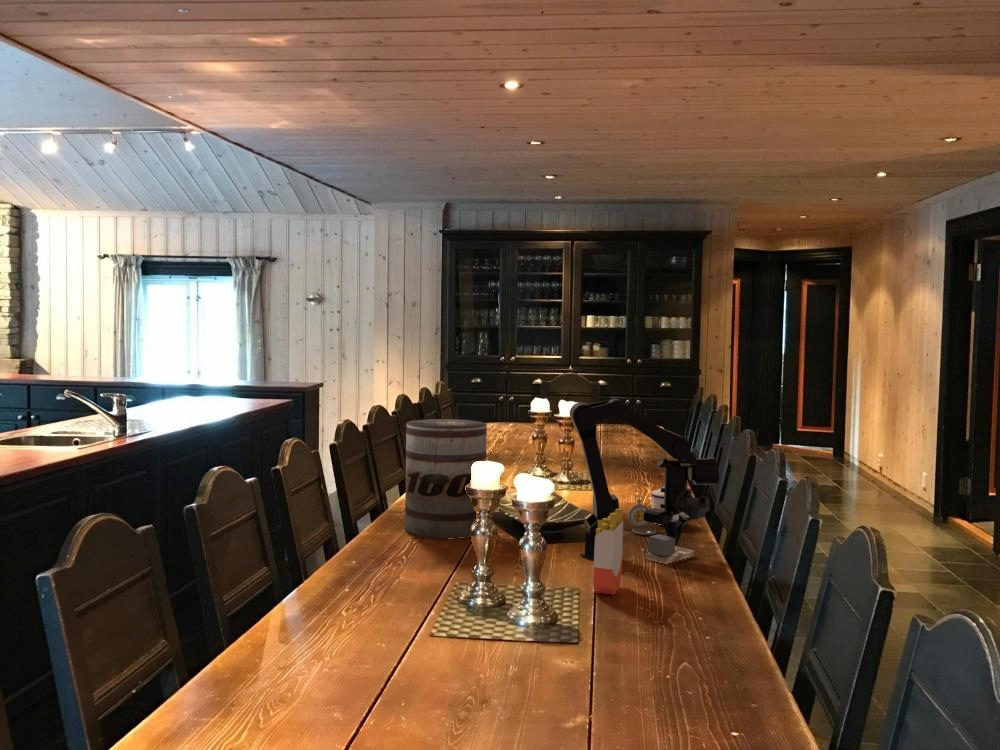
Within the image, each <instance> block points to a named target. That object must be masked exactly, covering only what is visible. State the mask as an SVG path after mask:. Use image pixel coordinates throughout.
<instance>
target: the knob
mask: <svg viewBox="0 0 1000 750" xmlns="http://www.w3.org/2000/svg"><path fill="white" fill-rule="evenodd" d="M648 536H649V537H648V553H653V554H657V555H661V556H669V555H672V554H675V538H673V537H669V536H668V535H664V534H660V533H659V534H653V535H648Z"/></svg>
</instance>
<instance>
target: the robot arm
mask: <svg viewBox="0 0 1000 750" xmlns="http://www.w3.org/2000/svg"><path fill="white" fill-rule="evenodd" d="M569 417H570V420H571V422H572V424H573V427H574V429H575V431H576V433H577V435H578V437H579V440H580V443H581V447H582V450H583V451H582V452H583V455H584V459H585V464H586V469H587V472H588V476H589V481H590V485H591V489H592V490H591V491H592V511H593V513H592V514H591V515H589V516H588V517H587V518H586V519H585V520H584V524H585V527H586V530H588V531H586V532H585V534H584V552H582V553H580V554H579V556H580V557H583V558H586V559H590V560H593V561H594V550H595V536H596V529H597V528H598V520H602V519H603V518H608V516H610V513H613V512H615V509H620V502H619V498H618V497H617V496H616V494H614V493H613V494H611V493H610V490H609V486H608V483H607V478H606V474H605V470H604V465H603V462H602V458H601V452H600V449H599V444H598V440H597V422H599V421H602V420H607V419H610V418H612V417H617V418H619V419H620V420H622V421H624V422H625V423H626V424H628V425H630V426H631V427H632V428H634V429H636V430H637V431H638V432H640V433H641V434H642V435H644V436H647V437H648V438H649V439H650V440H652V441H653V442H654V443H655V445H657V446H658V447H659V448H660V449H661V450H662V451H663V452H665V454H666V455H668V456H669V457H671V458H672V460H671V459H667V458H666V457H664V456H663V457H661V459H660V460H659V461H658V462H656V466H657V467H658V468H660V469H664V481H663V483H664V485H663V487H664V488H662V487H660V488H661V492H663V493H664V504H661V505H660V508H663V509H665V510H662V509H658V508H652V507H651V508H648V509H647V510H645V511H644V512H643V513H642V514H643V517H642V518H643V521H647V523H652V524H653V523H656V524H662V525H663V526H662V527H663V530H664V531H665V533H666V536H669V537H673V538H675V546H677V547H678V544H679V542H680V539H681V536H682V534H683V531H684V528H685V527H686V525H687V524H688V523H689V522H691V521H693V520H698V519H701V518H702V519H703V518H704V517H705V515H707V512H709V511H711V508H710V507H711V503H710V502H711V501H710V498H709V497H708V496H705V495H704V496H700V497H694V496H693V492H692V489H691V488H688V480H689V481H692V484H693V485H694V486H695V485H698V486H699V485H700V486H701V485H702V486H703V485H704V486H705V485H707V486H711V485H712V486H713V485H714V486H715V485H718V484H719V481H720V472H719V468H718V464H717V458H715V457H706V458H704V457H703V458H700V457H699V458H697V457H696V456H695V455H694V454H693V452H692V451H691V449H692V448H691V444H690V441H689V440H688V439H687V438H685V437H684V436H681V435H679V434H678V433H675V432H673V431H670V430H668V429H665V428H663V427H660V426H658V425H657V424H656V423H654V422H652V421H651V420H650V419H648V418H646V417H645V416H643V415H641V414H640V413H638V412H636V411H635V410H634V409H632V408H630V407H629V406H627V405H626V404H625V403H624V402H623V401H622V400H620V399H618V398H611V399H610V400H604V401H598V402H597V401H596V402H592V403H586V402H582V401H581V402H577V403H575V404H573V405H572V406H571V408H570V410H569ZM679 460H683V461H684V462H686V463H681V462H680V461H679ZM656 524H655V525H656Z"/></svg>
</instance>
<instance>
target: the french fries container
mask: <svg viewBox="0 0 1000 750" xmlns="http://www.w3.org/2000/svg"><path fill="white" fill-rule="evenodd" d="M623 511H624V510H623V508H619V509H615V512H613V513H610V516H608V518H603V519H602V520H598V528H597V529H596V536H595V550H594V560H593V577H592V578H593V579H592V581H593V583H592V584H593V585H592V586H593V590H594V592H595V594H600V593H602V594H601V595H608V594H611V596H615V595H616V593H617V592H618V590H619V589H618V588H620V585H621V579H622V572H623V571H622V569H623V541H624V540H623V539H624V538H623V537H624V536H623V535H624V520H623ZM616 591H617V592H616ZM614 594H615V595H614Z"/></svg>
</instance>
